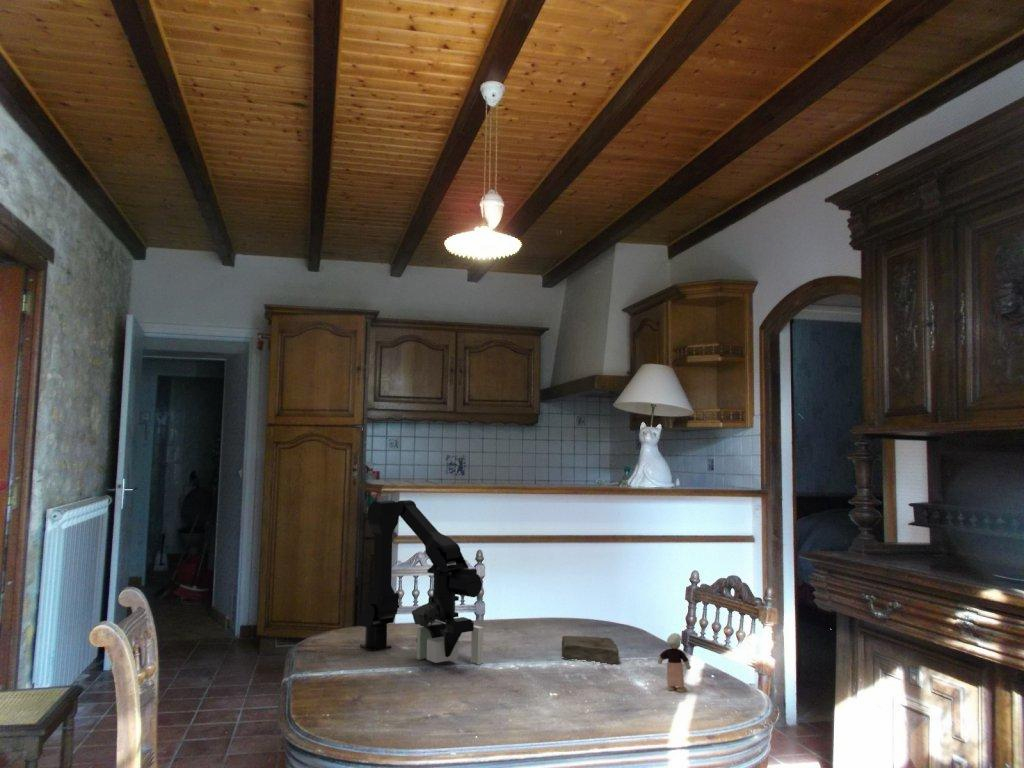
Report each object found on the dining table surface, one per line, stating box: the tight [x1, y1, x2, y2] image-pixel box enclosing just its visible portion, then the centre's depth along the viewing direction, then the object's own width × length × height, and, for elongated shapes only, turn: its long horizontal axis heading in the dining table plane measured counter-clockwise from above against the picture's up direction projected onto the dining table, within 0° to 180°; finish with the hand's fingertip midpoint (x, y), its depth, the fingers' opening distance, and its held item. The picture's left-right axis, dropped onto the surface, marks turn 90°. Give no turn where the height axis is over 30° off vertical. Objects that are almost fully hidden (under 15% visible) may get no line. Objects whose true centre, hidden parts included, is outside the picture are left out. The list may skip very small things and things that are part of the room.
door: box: [415, 626, 432, 661], centre depth 210 cm, size 10×2×8 cm, turn 139°
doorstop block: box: [426, 637, 460, 664], centre depth 202 cm, size 4×7×5 cm, turn 129°
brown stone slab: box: [561, 635, 620, 665], centre depth 213 cm, size 17×15×4 cm
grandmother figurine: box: [657, 632, 691, 693], centre depth 184 cm, size 8×4×13 cm, turn 71°
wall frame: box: [446, 620, 484, 665], centre depth 210 cm, size 18×2×9 cm, turn 39°
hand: (442, 654), depth 202 cm, fingers closed on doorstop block, 4 cm apart
